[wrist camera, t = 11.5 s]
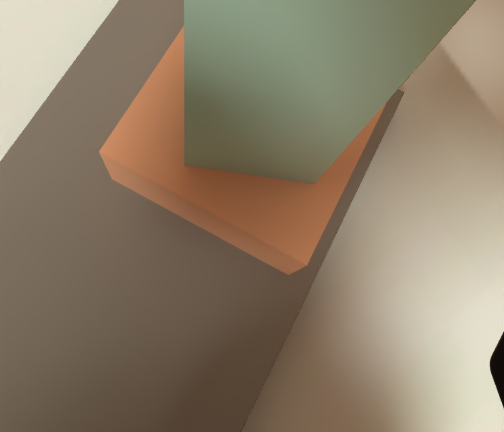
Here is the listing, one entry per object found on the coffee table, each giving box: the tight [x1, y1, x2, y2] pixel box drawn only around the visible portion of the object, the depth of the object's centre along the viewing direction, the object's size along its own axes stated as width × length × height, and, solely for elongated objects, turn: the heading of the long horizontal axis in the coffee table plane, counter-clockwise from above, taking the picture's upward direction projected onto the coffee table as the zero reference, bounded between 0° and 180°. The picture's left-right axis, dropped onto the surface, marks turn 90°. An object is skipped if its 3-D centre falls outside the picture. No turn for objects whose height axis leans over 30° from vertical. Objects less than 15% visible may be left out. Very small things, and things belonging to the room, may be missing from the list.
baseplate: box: [0, 0, 404, 432], centre depth 18 cm, size 20×13×4 cm, turn 152°
